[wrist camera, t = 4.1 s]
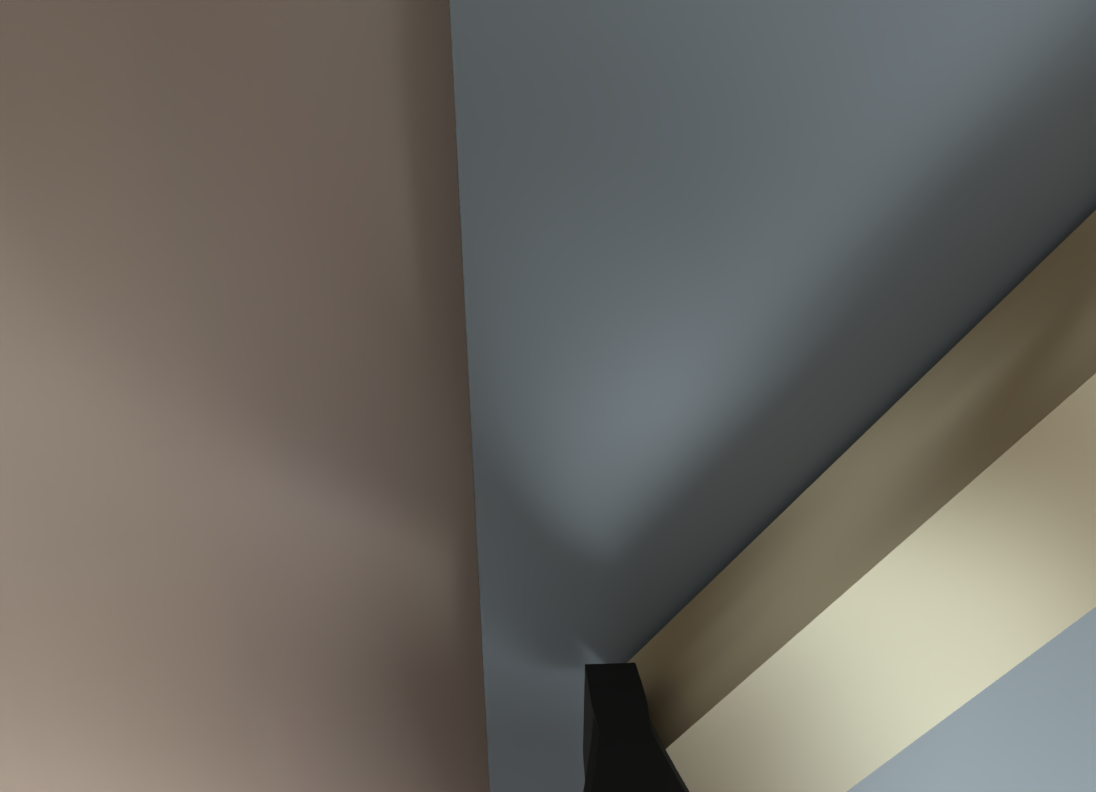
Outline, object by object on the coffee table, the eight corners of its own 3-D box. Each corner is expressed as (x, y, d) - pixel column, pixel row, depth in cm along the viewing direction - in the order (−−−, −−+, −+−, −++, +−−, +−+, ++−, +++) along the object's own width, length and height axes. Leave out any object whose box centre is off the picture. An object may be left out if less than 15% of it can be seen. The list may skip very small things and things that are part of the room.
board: (1257, 778, 15) (1303, 820, 14) (494, 797, 15) (492, 842, 14) (2177, -584, 7) (2433, -689, 6) (427, -643, 6) (409, -774, 5)
